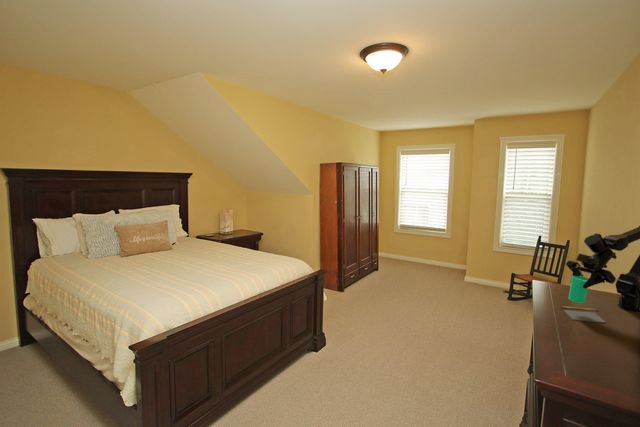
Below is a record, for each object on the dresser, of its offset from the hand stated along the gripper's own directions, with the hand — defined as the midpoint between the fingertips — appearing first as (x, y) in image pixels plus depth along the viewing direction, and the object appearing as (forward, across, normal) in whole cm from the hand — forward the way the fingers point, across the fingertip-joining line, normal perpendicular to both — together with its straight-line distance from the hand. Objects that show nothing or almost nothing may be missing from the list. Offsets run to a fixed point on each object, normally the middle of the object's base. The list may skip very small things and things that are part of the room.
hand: (577, 285), depth 147 cm
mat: (+8, +3, +10) cm, 14 cm away
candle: (+4, -1, +6) cm, 7 cm away
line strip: (+4, -5, +15) cm, 16 cm away
